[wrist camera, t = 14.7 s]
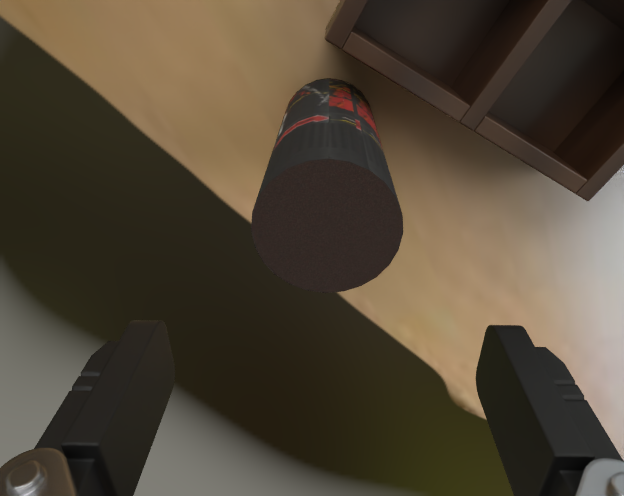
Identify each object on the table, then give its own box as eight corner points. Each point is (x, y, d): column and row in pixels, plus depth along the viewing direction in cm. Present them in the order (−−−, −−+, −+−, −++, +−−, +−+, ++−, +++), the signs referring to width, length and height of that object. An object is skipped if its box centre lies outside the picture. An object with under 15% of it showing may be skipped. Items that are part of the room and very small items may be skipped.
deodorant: (369, 167, 33) (395, 294, 20) (285, 166, 33) (255, 290, 20) (376, 79, 30) (411, 160, 17) (282, 77, 30) (246, 157, 17)
